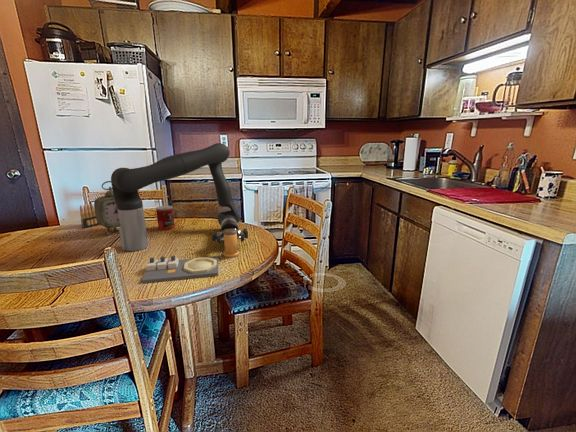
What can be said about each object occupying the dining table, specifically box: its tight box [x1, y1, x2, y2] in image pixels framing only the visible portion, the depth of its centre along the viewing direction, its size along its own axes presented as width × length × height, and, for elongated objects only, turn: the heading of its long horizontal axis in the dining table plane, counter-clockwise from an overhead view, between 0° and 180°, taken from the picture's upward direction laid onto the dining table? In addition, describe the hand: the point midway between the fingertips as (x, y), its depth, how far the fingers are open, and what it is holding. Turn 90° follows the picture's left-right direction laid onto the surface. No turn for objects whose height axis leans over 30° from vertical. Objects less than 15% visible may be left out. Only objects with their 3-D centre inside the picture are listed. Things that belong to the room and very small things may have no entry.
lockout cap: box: [223, 229, 240, 259], centre depth 116 cm, size 6×6×10 cm
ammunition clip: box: [79, 203, 101, 229], centre depth 153 cm, size 11×2×12 cm, turn 152°
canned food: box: [155, 205, 176, 231], centre depth 149 cm, size 8×8×11 cm
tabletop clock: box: [93, 180, 120, 236], centre depth 142 cm, size 14×9×25 cm, turn 143°
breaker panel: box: [141, 255, 219, 284], centre depth 104 cm, size 24×14×4 cm, turn 102°
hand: (230, 240), depth 115 cm, fingers open, 8 cm apart
